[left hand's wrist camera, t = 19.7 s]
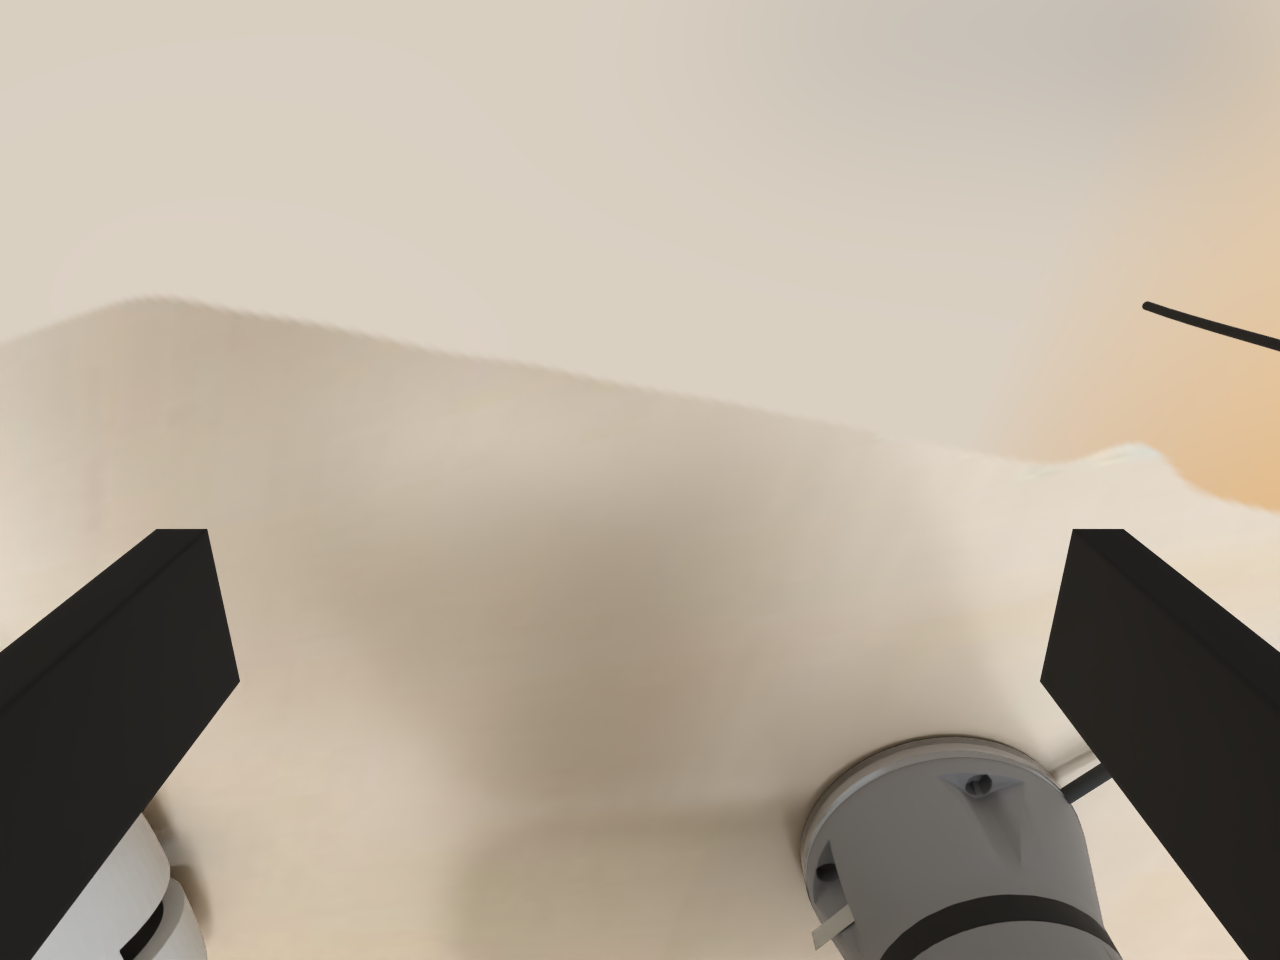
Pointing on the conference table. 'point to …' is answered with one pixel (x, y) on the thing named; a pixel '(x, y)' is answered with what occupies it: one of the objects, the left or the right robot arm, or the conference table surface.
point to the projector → (129, 909)
